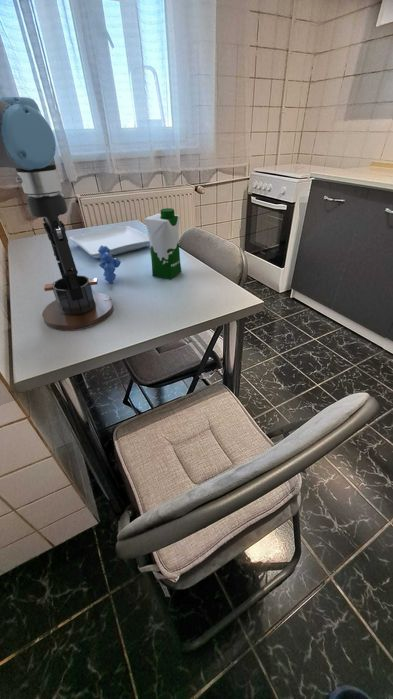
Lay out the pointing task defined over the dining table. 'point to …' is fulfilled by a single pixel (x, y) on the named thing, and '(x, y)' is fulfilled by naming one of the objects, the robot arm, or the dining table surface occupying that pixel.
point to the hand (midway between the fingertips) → (73, 292)
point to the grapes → (108, 263)
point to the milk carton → (164, 243)
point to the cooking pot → (65, 298)
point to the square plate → (112, 240)
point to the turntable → (80, 321)
